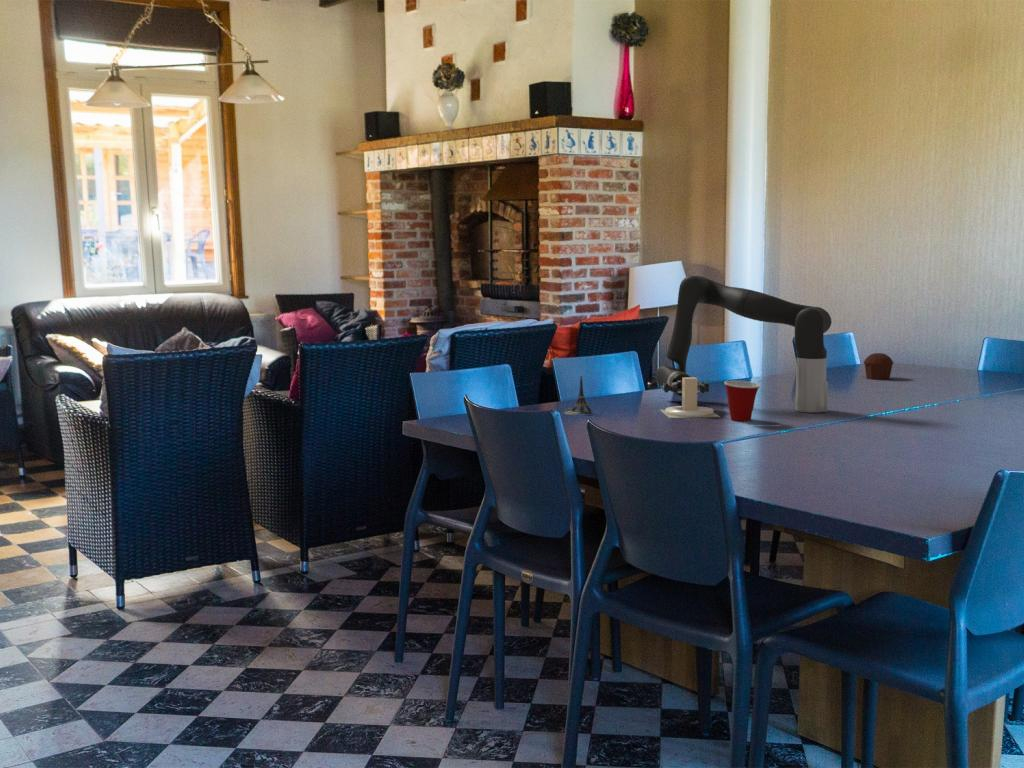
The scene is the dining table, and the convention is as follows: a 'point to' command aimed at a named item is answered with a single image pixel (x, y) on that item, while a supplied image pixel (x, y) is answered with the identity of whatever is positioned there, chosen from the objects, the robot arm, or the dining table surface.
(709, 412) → the lid
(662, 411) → the mat
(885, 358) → the muffin
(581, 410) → the eiffel tower figurine
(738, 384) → the plastic cup
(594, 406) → the dining table surface
